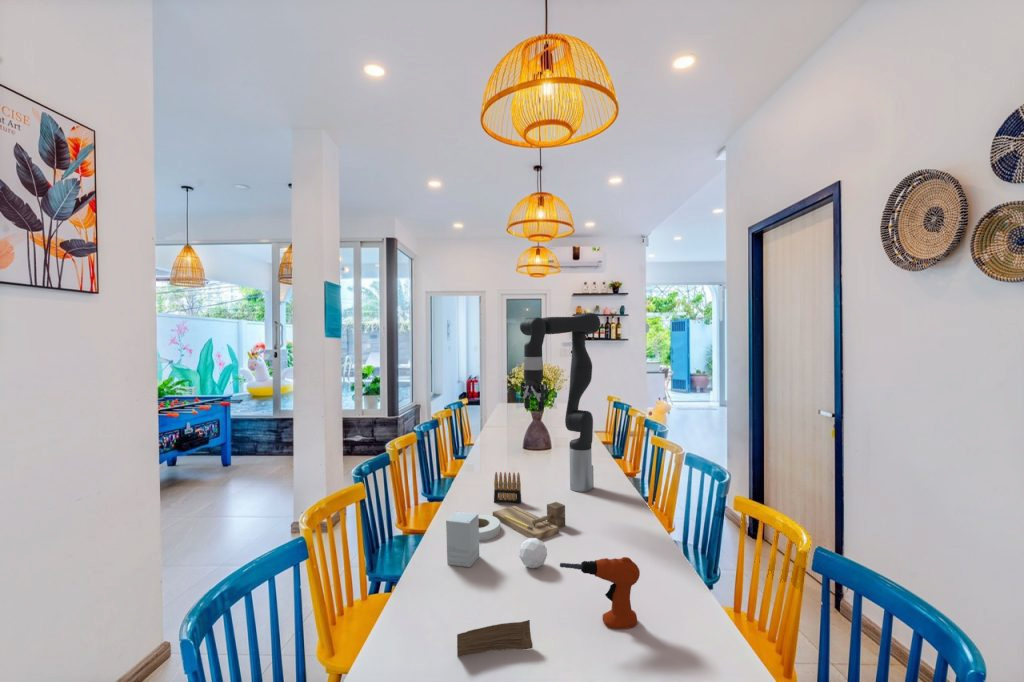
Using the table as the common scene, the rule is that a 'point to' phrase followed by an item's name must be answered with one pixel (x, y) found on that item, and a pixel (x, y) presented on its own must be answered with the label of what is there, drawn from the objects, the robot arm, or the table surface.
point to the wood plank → (495, 638)
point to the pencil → (518, 522)
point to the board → (525, 517)
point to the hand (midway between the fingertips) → (533, 409)
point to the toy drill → (614, 587)
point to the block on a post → (553, 515)
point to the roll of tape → (488, 526)
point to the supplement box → (462, 539)
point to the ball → (533, 553)
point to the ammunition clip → (506, 494)
